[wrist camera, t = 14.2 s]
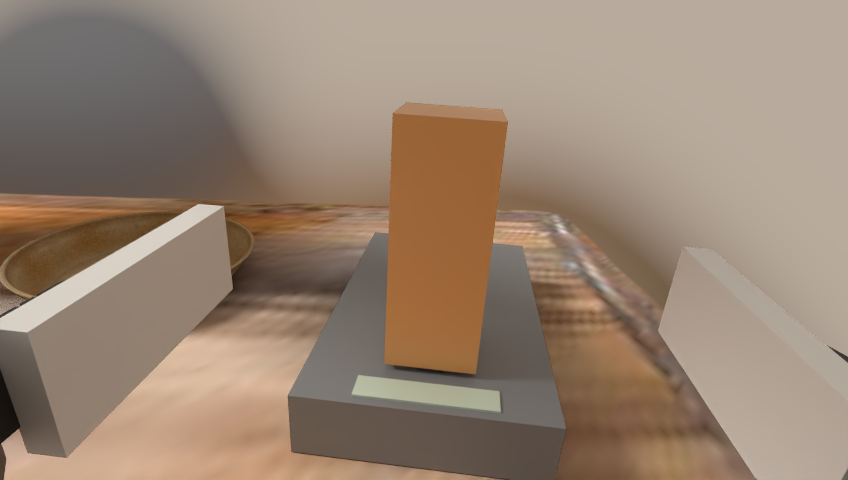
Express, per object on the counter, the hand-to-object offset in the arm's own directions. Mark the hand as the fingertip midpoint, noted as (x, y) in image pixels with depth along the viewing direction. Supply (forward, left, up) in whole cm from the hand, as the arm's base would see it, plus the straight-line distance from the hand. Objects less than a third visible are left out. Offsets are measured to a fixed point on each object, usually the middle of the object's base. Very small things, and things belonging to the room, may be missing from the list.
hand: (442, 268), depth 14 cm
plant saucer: (-24, -11, -11) cm, 28 cm away
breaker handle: (-5, +3, -7) cm, 9 cm away
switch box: (-13, +7, -10) cm, 18 cm away
